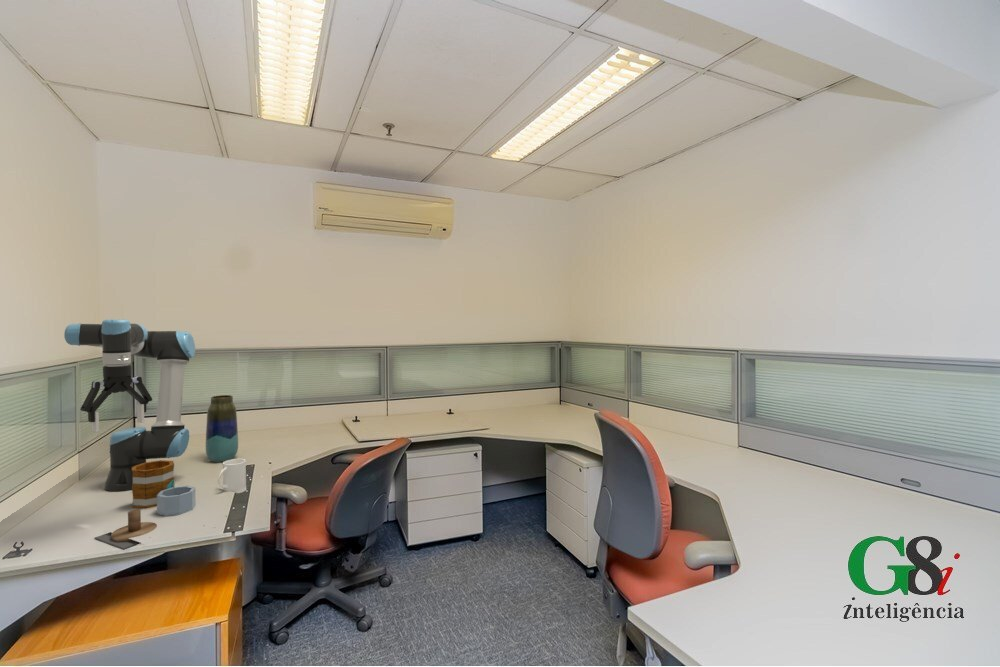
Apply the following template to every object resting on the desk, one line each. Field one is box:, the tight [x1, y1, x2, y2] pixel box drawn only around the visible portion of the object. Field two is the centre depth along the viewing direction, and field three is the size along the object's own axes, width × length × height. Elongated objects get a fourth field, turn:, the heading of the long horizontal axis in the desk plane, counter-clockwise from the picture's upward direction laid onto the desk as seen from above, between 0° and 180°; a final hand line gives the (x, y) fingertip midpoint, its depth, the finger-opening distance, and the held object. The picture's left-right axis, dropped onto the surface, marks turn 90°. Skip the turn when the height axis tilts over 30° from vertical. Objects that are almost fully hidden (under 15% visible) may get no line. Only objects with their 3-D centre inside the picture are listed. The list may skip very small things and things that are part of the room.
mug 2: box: [217, 458, 247, 494], centre depth 188 cm, size 12×8×12 cm
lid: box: [111, 508, 158, 542], centre depth 151 cm, size 12×12×7 cm
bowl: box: [156, 485, 197, 517], centre depth 167 cm, size 10×10×8 cm
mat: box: [94, 531, 141, 551], centre depth 151 cm, size 16×14×1 cm
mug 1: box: [131, 459, 175, 509], centre depth 177 cm, size 20×14×15 cm
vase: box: [205, 394, 239, 463], centre depth 231 cm, size 14×14×31 cm
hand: (118, 426), depth 161 cm, fingers open, 13 cm apart
